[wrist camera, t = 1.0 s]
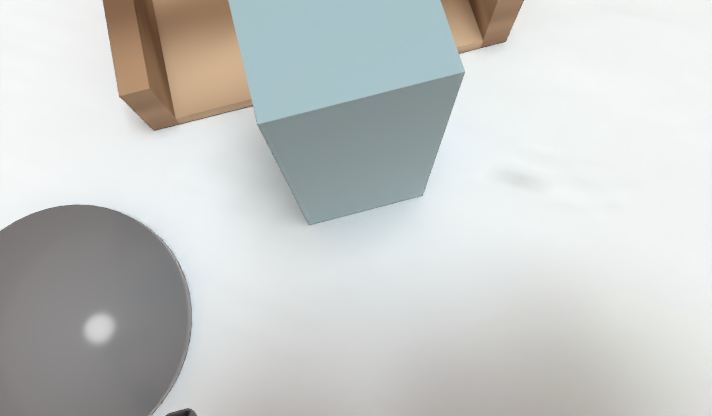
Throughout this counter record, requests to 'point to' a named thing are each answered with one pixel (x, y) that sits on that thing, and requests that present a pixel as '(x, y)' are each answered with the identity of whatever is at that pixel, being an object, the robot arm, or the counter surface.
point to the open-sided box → (228, 52)
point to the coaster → (88, 315)
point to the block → (349, 95)
